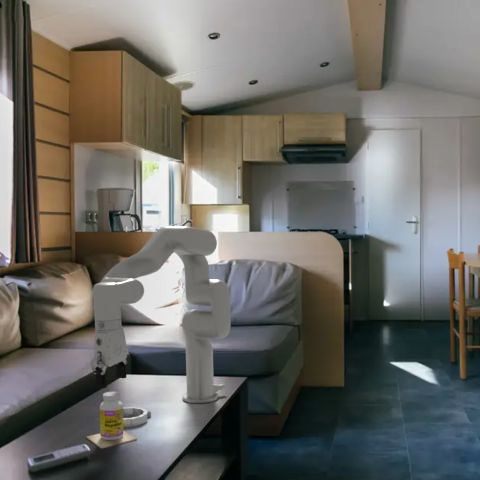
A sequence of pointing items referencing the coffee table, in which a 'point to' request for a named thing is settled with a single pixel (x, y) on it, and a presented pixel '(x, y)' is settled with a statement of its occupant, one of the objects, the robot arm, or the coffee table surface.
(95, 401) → the coffee table surface
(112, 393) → the supplement bottle
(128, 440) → the mat
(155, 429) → the coffee table surface
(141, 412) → the collar
